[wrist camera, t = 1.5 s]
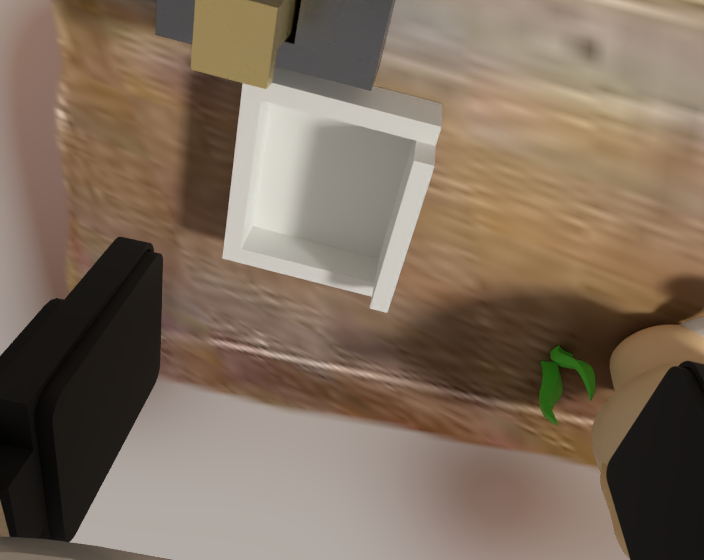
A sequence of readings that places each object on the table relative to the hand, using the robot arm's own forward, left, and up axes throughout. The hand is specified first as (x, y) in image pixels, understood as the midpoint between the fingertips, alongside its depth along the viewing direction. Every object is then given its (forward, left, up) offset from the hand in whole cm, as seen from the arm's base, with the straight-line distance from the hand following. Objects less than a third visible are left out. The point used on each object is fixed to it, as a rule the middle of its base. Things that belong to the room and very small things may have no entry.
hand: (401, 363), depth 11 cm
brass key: (-1, -8, -22) cm, 23 cm away
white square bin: (+8, -4, -25) cm, 26 cm away
